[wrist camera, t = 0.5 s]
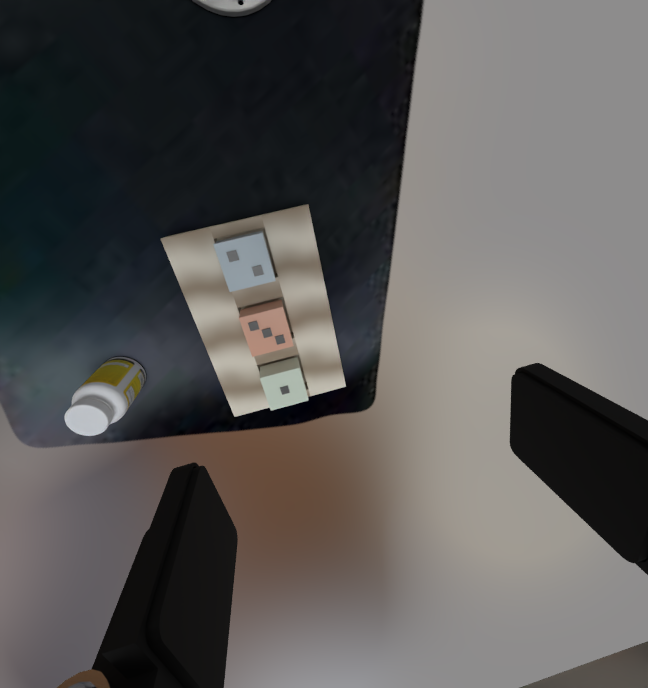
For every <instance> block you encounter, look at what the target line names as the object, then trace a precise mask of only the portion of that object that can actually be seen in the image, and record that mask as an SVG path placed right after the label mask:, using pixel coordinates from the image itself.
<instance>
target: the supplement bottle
mask: <svg viewBox="0 0 648 688" xmlns="http://www.w3.org/2000/svg"><path fill="white" fill-rule="evenodd" d="M145 381H146V373H145V370H144V369H143V367H142V366H141V365H140V364H139V363H138V362H136V361H134V360H133V359H130V358H126V357H115V358H111V359H109V360H107V361H106V362H105V363H104V364H102V365H101V366H100V367H99V368H98V369H97V370H96V371H95V372H94V373H93V374H92V375H91V377H90V378H89V379H88V380H87V381H86V382H85V383H84V384H83V385H82V386H81V387H80V388H79V389H78V390H77V391H76V392H75V394H74V395H73V398H72V406H71V407H70V408H69V409H68V410H67V412H66V414H65V422H66V425H67V426H68V427H69V428H70V429H71V430H72V431H74V432H76V433H78V434H81V435H86V436H93V435H97V434H100V433H102V432H103V431H105V430H106V428H107V427H108V426H109V424H111V423H114V422H116V421H118V420H119V419H120V418H121V417H122V416H123V415H124V414H125V413H126V411H127V410H128V408H129V407H130V405H131V404H132V402H133V401H134V399H135V398H136V396H137V395H138V393H139V392H140V390H141V389H142V387H143V385H144V383H145Z"/></svg>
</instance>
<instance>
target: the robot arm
mask: <svg viewBox="0 0 648 688" xmlns="http://www.w3.org/2000/svg"><path fill="white" fill-rule="evenodd" d="M192 1H193V2H195V3H197V4H198V5H200V6H201V7H203V8H205V9H206V10H209V11H211V12H214V13H217V14H219V15H224V16H232V17H236V16H245V15H249V14H251V13H254V12H256V11H259V10H260V9H262V8H263V7H264V6H266V5H267V4H268V3H270V2H271V0H192ZM239 1H242V2H243V3H244V4H243V5H239V4H238V2H239ZM510 446H511V449H512V451H513V452H514V454H515V455H516V456H517V457H518V458H519V459H520V460H521V461H522V462H523V463H525V464H526V466H527V467H529V468H530V469H531V470H532V471H533V472H534V473H535V474H536V475H537V476H538V477H539V478H540V479H541V480H542V481H543V482H544V483H545V484H546V485H547V486H549V488H550V489H552V490H553V491H554V492H555V493H556V494H557V495H558V496H559V497H560V498H561V499H562V500H563V501H564V502H565V503H566V504H567V505H568V506H569V507H570V508H571V509H572V510H574V511H575V512H576V513H577V514H578V515H579V516H580V517H581V518H582V519H583V520H584V521H585V522H586V523H587V524H588V525H589V526H590V527H591V528H592V529H593V530H595V531H596V532H597V533H598V534H599V535H600V536H601V537H602V538H603V539H604V540H605V541H606V542H607V543H608V544H609V545H610V546H611V547H612V548H613V549H614V550H615V551H616V552H617V553H619V554H620V555H621V556H622V557H623V558H624V559H626V560H627V561H629V562H631V563H636V564H637V565H638V566H639V567H640V568H641V569H642V570H643V571H644V572H645V573H646V574H647V575H648V420H646V419H644V418H642V417H640V416H638V415H637V414H635V413H633V412H631V411H629V410H627V409H625V408H623V407H621V406H620V405H618V404H616V403H614V402H612V401H610V400H608V399H606V398H605V397H602V396H601V395H599V394H597V393H595V392H593V391H591V390H590V389H588V388H586V387H584V386H582V385H580V384H578V383H576V382H574V381H573V380H571V379H569V378H567V377H565V376H563V375H561V374H559V373H557V372H556V371H554V370H552V369H550V368H548V367H546V366H544V365H542V364H540V363H535V364H531V365H528V366H525V367H521V368H518V369H517V370H516V372H515V375H513V377H512V381H511V418H510ZM236 552H237V531H236V528H235V526H234V524H233V522H232V520H231V518H230V516H229V514H228V512H227V510H226V508H225V506H224V504H223V502H222V500H221V498H220V496H219V494H218V492H217V490H216V488H215V486H214V484H213V482H212V480H211V478H210V476H209V474H208V472H207V470H206V468H205V467H204V466H198V464H197V463H191V464H187V465H184V466H180V467H177V468H174V469H173V470H172V472H171V474H170V476H169V479H168V482H167V484H166V487H165V489H164V492H163V495H162V497H161V500H160V503H159V505H158V508H157V511H156V513H155V516H154V518H153V521H152V524H151V526H150V529H149V530H148V531H147V532H146V533H145V535H144V537H143V539H142V542H141V545H140V547H139V550H138V552H137V555H136V557H135V560H134V563H133V565H132V568H131V570H130V573H129V575H128V578H127V580H126V583H125V585H124V588H123V590H122V593H121V595H120V598H119V601H118V603H117V606H116V608H115V611H114V613H113V616H112V618H111V621H110V624H109V626H108V629H107V631H106V634H105V636H104V639H103V641H102V644H101V647H100V649H99V652H98V654H97V657H96V659H95V662H94V664H93V667H92V669H91V670H87V671H82V672H79V673H77V674H76V675H74V676H72V677H71V678H69V679H67V680H65V681H64V682H63V683H62V684H61V685H59V686H58V687H57V688H224V678H225V668H226V657H227V647H228V636H229V625H230V615H231V605H232V594H233V583H234V573H235V562H236ZM520 688H648V642H645V643H642V644H639V645H636V646H634V647H631V648H628V649H625V650H622V651H620V652H617V653H614V654H611V655H609V656H606V657H603V658H600V659H597V660H595V661H592V662H589V663H587V664H584V665H581V666H578V667H576V668H573V669H570V670H567V671H564V672H562V673H559V674H556V675H554V676H551V677H548V678H545V679H542V680H540V681H537V682H534V683H532V684H529V685H526V686H523V687H520Z"/></svg>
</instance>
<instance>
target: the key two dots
mask: <svg viewBox="0 0 648 688" xmlns="http://www.w3.org/2000/svg"><path fill="white" fill-rule="evenodd" d="M213 245H214V248H215V251H216V254H217V257H218V260H219V263H220V265H221V268H222V271H223V274H224V277H225V280H226V283H227V286H228V289H229V291H230V292H232V291H237V290H241V289H245V288H249V287H253V286H257V285H261V284H265V283H269V282H273V281H276V280H275V274H274V270H273V267H272V263H271V259H270V256H269V252H268V248H267V245H266V241H265V238H264V234H263V231H259V232H254V233H250V234H246V235H241V236H237V237H233V238H229V239H224V240H220V241H217V242H216V243H214V244H213Z"/></svg>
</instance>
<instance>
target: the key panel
mask: <svg viewBox="0 0 648 688" xmlns="http://www.w3.org/2000/svg"><path fill="white" fill-rule="evenodd" d="M259 231H263V234H264V238H265V241H266V245H267V248H268V252H269V256H270V259H271V263H272V267H273V270H274V274H275V280H276V281H273V282H269V283H265V284H261V285H257V286H253V287H249V288H245V289H241V290H237V291H232V292H230V291H229V289H228V286H227V283H226V280H225V277H224V274H223V271H222V268H221V265H220V263H219V260H218V257H217V254H216V251H215V248H214V245H213V244H214V243H216V242H217V241H220V240H224V239H229V238H233V237H237V236H241V235H246V234H250V233H254V232H259ZM161 241H162V244H163V246H164V248H165V251H166V253H167V256H168V258H169V260H170V263H171V265H172V268H173V270H174V272H175V275H176V277H177V280H178V282H179V284H180V287H181V289H182V292H183V294H184V296H185V299H186V301H187V304H188V306H189V309H190V311H191V313H192V316H193V318H194V321H195V323H196V325H197V328H198V330H199V333H200V335H201V337H202V340H203V342H204V345H205V347H206V349H207V352H208V354H209V357H210V359H211V361H212V364H213V366H214V369H215V371H216V373H217V376H218V378H219V381H220V383H221V385H222V388H223V390H224V393H225V395H226V398H227V400H228V402H229V405H230V407H231V410H232V412H233V414H234V417H236V416H240V415H244V414H247V413H251V412H255V411H258V410H262V409H266V408H269V404H268V401H267V398H266V395H265V392H264V389H263V386H262V384H261V381H260V367H261V366H265V365H268V364H272V363H276V362H280V361H284V360H287V359H291V358H295V357H297V358H298V361H299V365H300V368H301V372H302V376H303V379H304V383H305V387H306V391H307V395H308V397H309V396H313V395H317V394H320V393H324V392H328V391H331V390H335V389H339V388H342V387H346V384H345V380H344V375H343V370H342V365H341V360H340V355H339V351H338V346H337V341H336V336H335V331H334V326H333V322H332V317H331V312H330V307H329V302H328V297H327V293H326V288H325V283H324V278H323V273H322V268H321V264H320V259H319V254H318V249H317V244H316V239H315V235H314V230H313V225H312V220H311V215H310V210H309V206H308V205H301V206H297V207H292V208H288V209H284V210H279V211H275V212H271V213H266V214H262V215H258V216H253V217H249V218H245V219H240V220H236V221H231V222H227V223H223V224H218V225H214V226H210V227H205V228H201V229H197V230H192V231H188V232H184V233H179V234H175V235H171V236H167V237H164V238H161ZM278 300H282V303H283V307H284V310H285V314H286V318H287V321H288V325H289V328H290V332H291V336H292V340H293V345H294V346H292V347H289V348H285V349H281V350H277V351H273V352H269V353H266V354H262V355H258V356H254V357H252V355H251V352H250V349H249V346H248V343H247V340H246V337H245V335H244V332H243V329H242V326H241V323H240V320H239V315H240V310H242V309H246V308H250V307H254V306H258V305H262V304H266V303H270V302H274V301H278Z"/></svg>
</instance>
